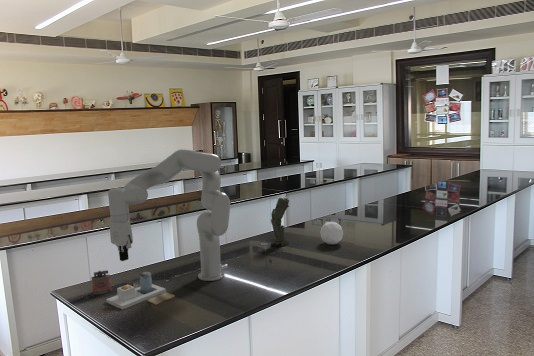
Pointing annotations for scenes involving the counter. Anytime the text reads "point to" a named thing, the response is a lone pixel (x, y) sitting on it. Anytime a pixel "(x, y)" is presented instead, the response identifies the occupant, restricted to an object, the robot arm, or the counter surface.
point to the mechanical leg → (279, 222)
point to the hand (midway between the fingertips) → (124, 259)
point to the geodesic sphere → (331, 232)
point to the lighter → (101, 282)
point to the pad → (160, 298)
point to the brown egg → (125, 287)
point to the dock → (133, 296)
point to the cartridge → (145, 282)
